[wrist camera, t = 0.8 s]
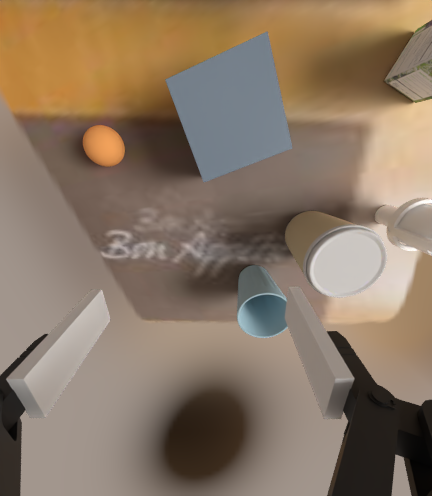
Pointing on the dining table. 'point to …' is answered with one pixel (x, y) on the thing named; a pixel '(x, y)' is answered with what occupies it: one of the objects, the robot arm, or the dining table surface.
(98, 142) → the ball
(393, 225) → the white hollow stepped cylinder
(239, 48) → the slate blue cube
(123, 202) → the dining table surface
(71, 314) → the robot arm
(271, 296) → the cup
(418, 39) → the syrup box
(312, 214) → the coffee cup
